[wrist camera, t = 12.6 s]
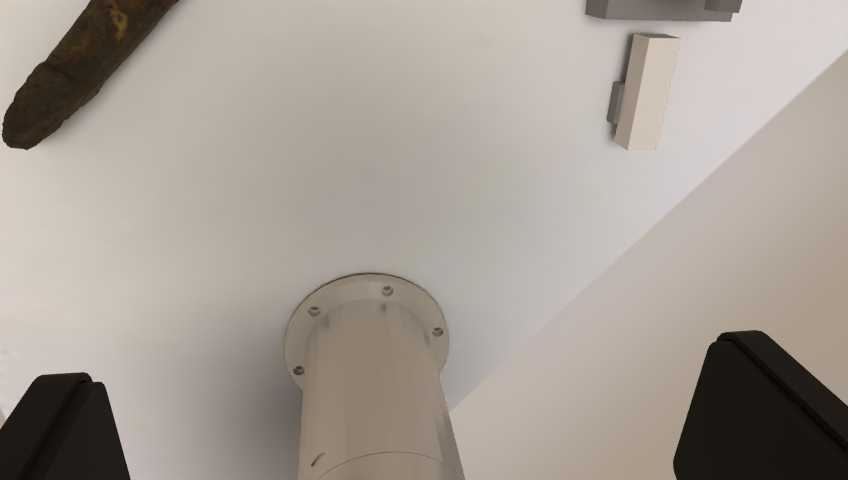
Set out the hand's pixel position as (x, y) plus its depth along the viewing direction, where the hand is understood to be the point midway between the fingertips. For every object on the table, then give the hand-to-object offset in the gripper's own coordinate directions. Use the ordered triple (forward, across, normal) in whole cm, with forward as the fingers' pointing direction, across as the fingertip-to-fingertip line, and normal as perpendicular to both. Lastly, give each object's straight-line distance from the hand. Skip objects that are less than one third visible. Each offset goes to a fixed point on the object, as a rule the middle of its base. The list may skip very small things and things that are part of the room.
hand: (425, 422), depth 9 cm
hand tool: (+31, +12, -2) cm, 33 cm away
